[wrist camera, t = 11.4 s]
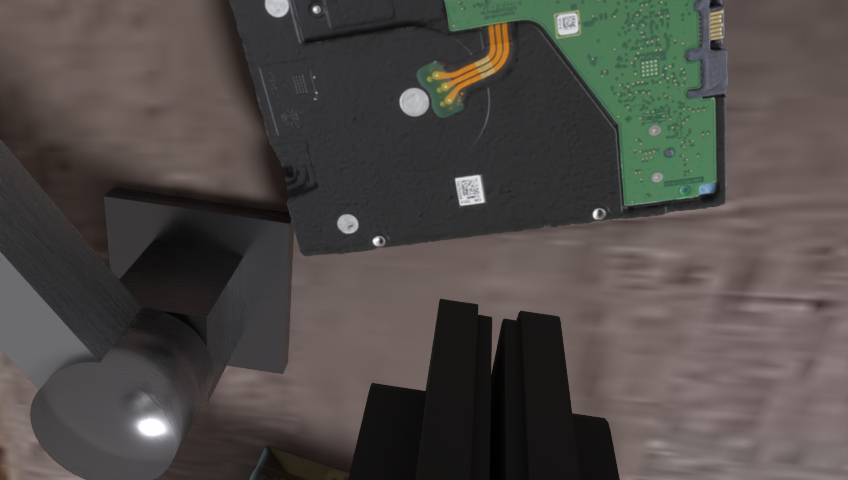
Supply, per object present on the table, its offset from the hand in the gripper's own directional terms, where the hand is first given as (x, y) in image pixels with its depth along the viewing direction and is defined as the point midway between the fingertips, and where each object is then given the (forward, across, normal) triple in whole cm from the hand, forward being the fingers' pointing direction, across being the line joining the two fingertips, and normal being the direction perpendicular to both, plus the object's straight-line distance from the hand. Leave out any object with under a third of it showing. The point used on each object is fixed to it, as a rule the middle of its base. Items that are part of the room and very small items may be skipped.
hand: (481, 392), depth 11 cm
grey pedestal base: (+17, +10, +10) cm, 22 cm away
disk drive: (+18, 0, 0) cm, 18 cm away
